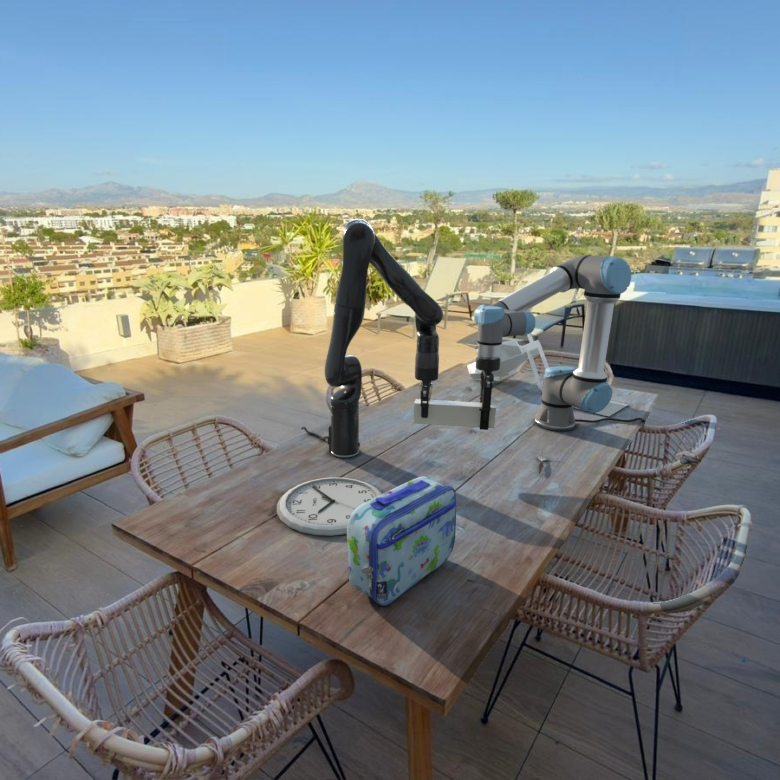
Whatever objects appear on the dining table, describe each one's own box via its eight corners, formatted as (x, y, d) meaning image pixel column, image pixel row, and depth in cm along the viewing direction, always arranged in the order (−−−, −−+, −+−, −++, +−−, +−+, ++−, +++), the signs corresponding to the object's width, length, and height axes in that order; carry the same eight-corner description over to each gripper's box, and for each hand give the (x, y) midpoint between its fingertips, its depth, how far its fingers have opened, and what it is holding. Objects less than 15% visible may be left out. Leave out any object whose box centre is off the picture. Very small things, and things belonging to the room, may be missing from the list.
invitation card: (608, 416, 214) (573, 407, 224) (608, 416, 214) (573, 408, 224) (628, 404, 229) (594, 396, 238) (628, 405, 229) (594, 397, 238)
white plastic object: (488, 421, 262) (468, 398, 237) (469, 348, 284) (449, 320, 260) (560, 397, 250) (547, 371, 225) (534, 322, 272) (520, 291, 247)
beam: (493, 423, 172) (495, 403, 170) (494, 428, 168) (496, 407, 166) (414, 418, 175) (415, 398, 173) (413, 423, 171) (414, 403, 169)
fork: (534, 474, 163) (535, 468, 162) (539, 454, 177) (539, 449, 176) (543, 475, 162) (544, 469, 161) (547, 455, 176) (547, 450, 175)
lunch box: (376, 619, 101) (377, 524, 95) (340, 592, 109) (339, 502, 102) (459, 562, 119) (465, 479, 113) (424, 542, 126) (427, 463, 120)
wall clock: (392, 527, 129) (268, 531, 127) (391, 533, 130) (269, 537, 127) (383, 473, 158) (282, 475, 155) (383, 478, 158) (282, 480, 156)
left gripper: (417, 358, 174) (415, 407, 179) (413, 369, 160) (411, 421, 165) (439, 359, 173) (437, 408, 178) (437, 370, 159) (435, 423, 164)
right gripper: (474, 349, 172) (470, 416, 179) (477, 363, 155) (472, 435, 162) (498, 350, 171) (492, 417, 178) (503, 364, 155) (497, 437, 162)
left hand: (425, 414), depth 172 cm, fingers closed on beam, 4 cm apart
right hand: (483, 426), depth 170 cm, fingers closed on beam, 5 cm apart
